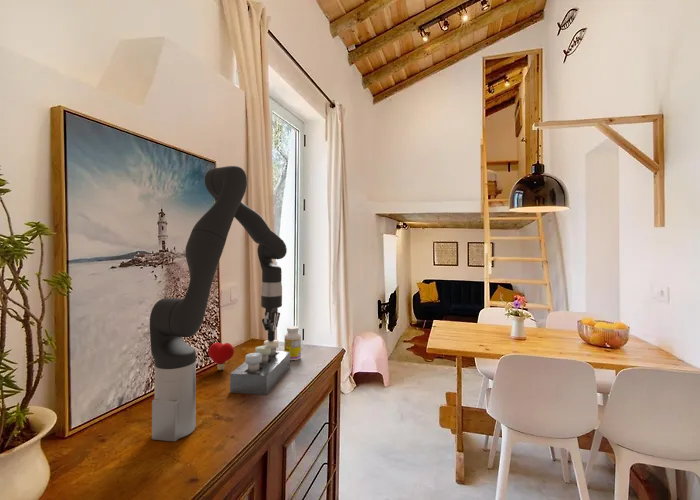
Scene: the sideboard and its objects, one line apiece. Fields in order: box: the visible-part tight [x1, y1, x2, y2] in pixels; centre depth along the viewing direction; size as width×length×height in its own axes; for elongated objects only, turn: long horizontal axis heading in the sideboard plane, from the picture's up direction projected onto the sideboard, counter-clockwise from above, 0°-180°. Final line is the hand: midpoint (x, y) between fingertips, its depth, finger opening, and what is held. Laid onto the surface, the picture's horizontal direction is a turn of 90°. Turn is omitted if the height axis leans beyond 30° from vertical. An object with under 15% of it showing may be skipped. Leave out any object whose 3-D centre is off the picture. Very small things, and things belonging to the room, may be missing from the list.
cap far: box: [263, 339, 279, 356], centre depth 128 cm, size 5×5×5 cm
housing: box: [229, 350, 291, 396], centre depth 120 cm, size 24×12×6 cm, turn 173°
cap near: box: [244, 352, 262, 373], centre depth 112 cm, size 5×5×5 cm
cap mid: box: [254, 345, 271, 364], centre depth 120 cm, size 5×5×5 cm
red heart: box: [208, 342, 235, 371], centre depth 128 cm, size 9×7×10 cm
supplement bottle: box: [284, 325, 302, 361], centre depth 142 cm, size 7×7×13 cm
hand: (271, 340), depth 128 cm, fingers closed
